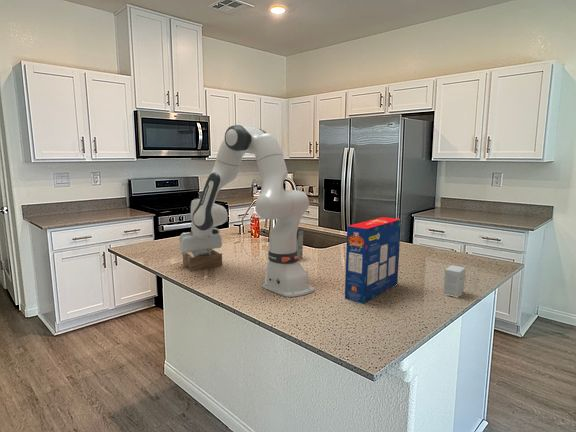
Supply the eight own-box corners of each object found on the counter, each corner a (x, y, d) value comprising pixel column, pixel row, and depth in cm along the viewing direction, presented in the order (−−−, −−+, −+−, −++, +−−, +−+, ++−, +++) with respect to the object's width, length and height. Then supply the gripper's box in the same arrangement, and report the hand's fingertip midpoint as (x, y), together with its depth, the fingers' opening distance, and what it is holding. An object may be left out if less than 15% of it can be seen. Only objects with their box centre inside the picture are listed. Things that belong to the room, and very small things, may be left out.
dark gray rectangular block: (209, 263, 183) (208, 253, 182) (201, 265, 181) (200, 254, 180) (202, 259, 190) (202, 249, 190) (194, 260, 188) (194, 250, 187)
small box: (449, 289, 155) (451, 264, 153) (463, 292, 152) (465, 267, 150) (442, 295, 149) (444, 269, 147) (457, 298, 145) (460, 272, 144)
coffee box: (281, 259, 198) (282, 228, 195) (287, 256, 203) (287, 226, 201) (297, 261, 193) (298, 230, 191) (303, 258, 199) (303, 228, 196)
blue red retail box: (379, 280, 166) (383, 216, 161) (397, 284, 160) (401, 219, 156) (344, 298, 145) (347, 225, 140) (363, 304, 140) (366, 228, 135)
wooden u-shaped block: (222, 266, 184) (221, 253, 183) (190, 271, 176) (190, 258, 175) (211, 259, 195) (211, 248, 194) (181, 264, 187) (181, 252, 186)
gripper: (181, 234, 175) (182, 263, 177) (223, 229, 186) (223, 257, 188) (177, 232, 180) (178, 260, 182) (217, 227, 191) (218, 254, 193)
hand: (201, 258), depth 185 cm, fingers closed on dark gray rectangular block, 4 cm apart
